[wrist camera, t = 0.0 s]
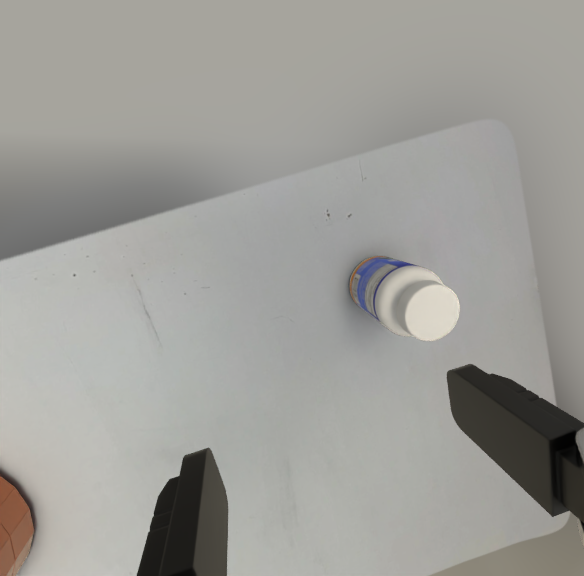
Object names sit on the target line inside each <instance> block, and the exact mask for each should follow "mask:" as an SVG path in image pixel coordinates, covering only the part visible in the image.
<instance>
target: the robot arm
mask: <svg viewBox="0 0 584 576" xmlns="http://www.w3.org/2000/svg"><path fill="white" fill-rule="evenodd" d="M447 383H448V390H449V398H450V405H451V411H452V415H453V417H454V420H455V421H456V423H457V425H458V426H459V428H460V429H461V430H462V431H463V432H464V433H465V434H466V435H467V436H468V437H469V438H470V439H472V440H473V441H474V442H475V443H476V444H477V445H478V446H479V447H480V448H481V449H482V450H483V451H484V452H485V453H486V454H487V455H488V456H489V457H490V458H491V459H493V460H494V461H495V462H496V463H497V464H498V465H499V466H500V467H501V468H502V469H503V470H504V471H505V472H506V473H507V474H508V475H509V476H510V477H511V478H512V479H513V480H515V481H516V482H517V483H518V484H519V485H520V486H521V487H522V488H523V489H524V490H525V491H526V492H527V493H528V494H529V495H530V496H531V497H532V498H533V499H534V500H536V501H537V502H538V503H539V504H540V505H541V506H542V507H543V508H544V509H545V510H546V511H547V512H548V513H549V514H550V515H551V516H552V517H554V516H556V515H559V514H561V513H564V512H567V511H569V510H570V511H571V512H572V513H573V514H574V515H575V516H576V517H577V520H578V529H579V533H580V536H581V540H582V543H583V546H584V423H583V422H581V421H579V420H578V419H576V418H574V417H573V416H571V415H569V414H568V413H566V412H564V411H562V410H561V409H559V408H558V407H556V406H554V405H553V404H551V403H549V402H548V401H546V400H544V399H543V398H539V397H538V395H536V394H534V393H533V392H531V391H529V390H528V391H527V390H526V388H524V387H523V386H521V385H519V384H518V383H516V382H514V381H513V380H511V379H508V378H505V377H502V376H498V375H495V374H490V375H489V374H487V373H485V372H484V371H482V370H481V369H479V368H478V367H476V366H474V365H472V364H468V365H465V366H462V367H459V368H456V369H452V370H449V371H448V372H447ZM227 541H228V501H227V495H226V490H225V487H224V484H223V481H222V478H221V476H220V473H219V470H218V467H217V465H216V462H215V459H214V456H213V454H212V451H211V450H210V448H206V449H203V450H200V451H197V452H194V453H191V454H188V455H185V456H184V458H183V462H182V466H181V471H180V476H178V477H175V478H172V479H169V481H168V482H167V484H166V485H165V487H164V488H163V490H162V491H161V493H160V494H159V496H158V499H157V503H156V507H155V510H154V517H153V518H152V522H151V525H150V532H149V533H148V536H147V540H146V544H145V547H144V551H143V555H142V559H141V562H140V566H139V570H138V573H137V576H227Z"/></svg>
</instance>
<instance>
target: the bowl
mask: <svg viewBox="0 0 584 576" xmlns="http://www.w3.org/2000/svg"><path fill="white" fill-rule="evenodd" d="M33 534H34V527H33V523H32V518H31V513H30V509H29V507H28V505H27V504H26V502H25V501H24V499H23V498H22V497H21V495H20V494H19V492H18V491H17V489H16V488H15V487H14V486H13V485H12V484H10V483H9V482H8V481H6V480H5V479H4V478H2V477H1V476H0V576H16V574H17V572H18V571H19V569H20V567H21V566H22V564H23V562H24V561H25V559H26V557H27V556H28V554H29V552H30V547H31V543H32V538H33Z"/></svg>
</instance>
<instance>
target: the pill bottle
mask: <svg viewBox="0 0 584 576" xmlns="http://www.w3.org/2000/svg"><path fill="white" fill-rule="evenodd" d="M349 287H350V293H351V296H352V298H353V300H354V301H355V303H356V304H357V305H358V306H359V307H360V308H362V309H363V310H364V311H366V312H367V313H368V314H370V315H371V316H372V317H373V318H375V319H376V320H377V321H378V322H380V323H381V324H382V325H383V326H385V327H386V328H387V329H388V330H390V331H391V332H393V333H395V334H397V335H400V336H407V337H411V336H414V337H415V338H417V339H419V340H423V341H434V340H438V339H440V338H442V337H444V336H445V335H447V334H448V333H449V332H450V331H451V330H452V329H453V327H454V326H455V324H456V322H457V320H458V317H459V313H460V304H459V300H458V298H457V296H456V294H455V293H454V292H453V291H452V290H451V289H450V288H449V287H447V286H445V285H443V283H442V281H441V279H440V278H439V277H438V276H437V275H436V274H435V273H433V272H432V271H430V270H428V269H426V268H423V267H420V266H416V265H413V264H409V263H406V262H403V261H399V260H396V259H393V258H389V257H384V256H374V257H370V258H368V259H366V260H364V261H363V262H361V263H360V264H359V265H358V266H357V267H356V268H355V270H354V271H353V273H352V275H351V278H350V284H349Z"/></svg>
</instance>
